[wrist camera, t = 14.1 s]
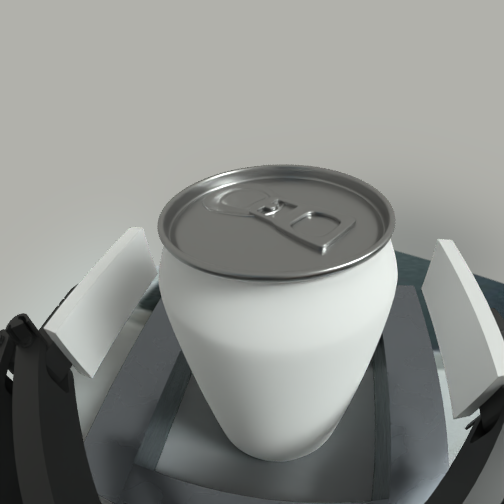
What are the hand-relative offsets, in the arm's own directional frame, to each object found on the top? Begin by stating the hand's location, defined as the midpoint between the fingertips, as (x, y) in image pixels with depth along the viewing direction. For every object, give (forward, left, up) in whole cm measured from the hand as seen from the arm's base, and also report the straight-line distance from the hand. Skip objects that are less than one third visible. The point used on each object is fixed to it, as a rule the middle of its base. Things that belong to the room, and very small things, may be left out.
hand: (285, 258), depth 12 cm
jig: (0, +3, -8) cm, 8 cm away
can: (0, +3, -8) cm, 9 cm away
